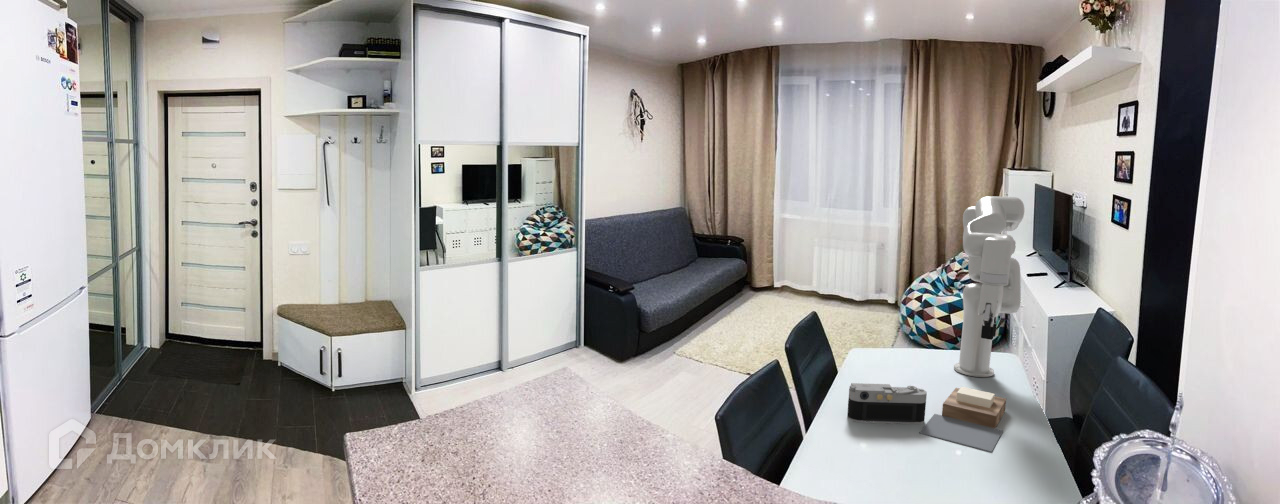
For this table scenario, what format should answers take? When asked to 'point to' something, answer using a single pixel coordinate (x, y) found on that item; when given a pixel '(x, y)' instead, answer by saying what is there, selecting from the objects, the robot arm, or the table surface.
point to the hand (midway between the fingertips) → (988, 336)
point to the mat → (962, 432)
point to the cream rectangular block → (975, 397)
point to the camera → (886, 404)
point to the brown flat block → (974, 411)
